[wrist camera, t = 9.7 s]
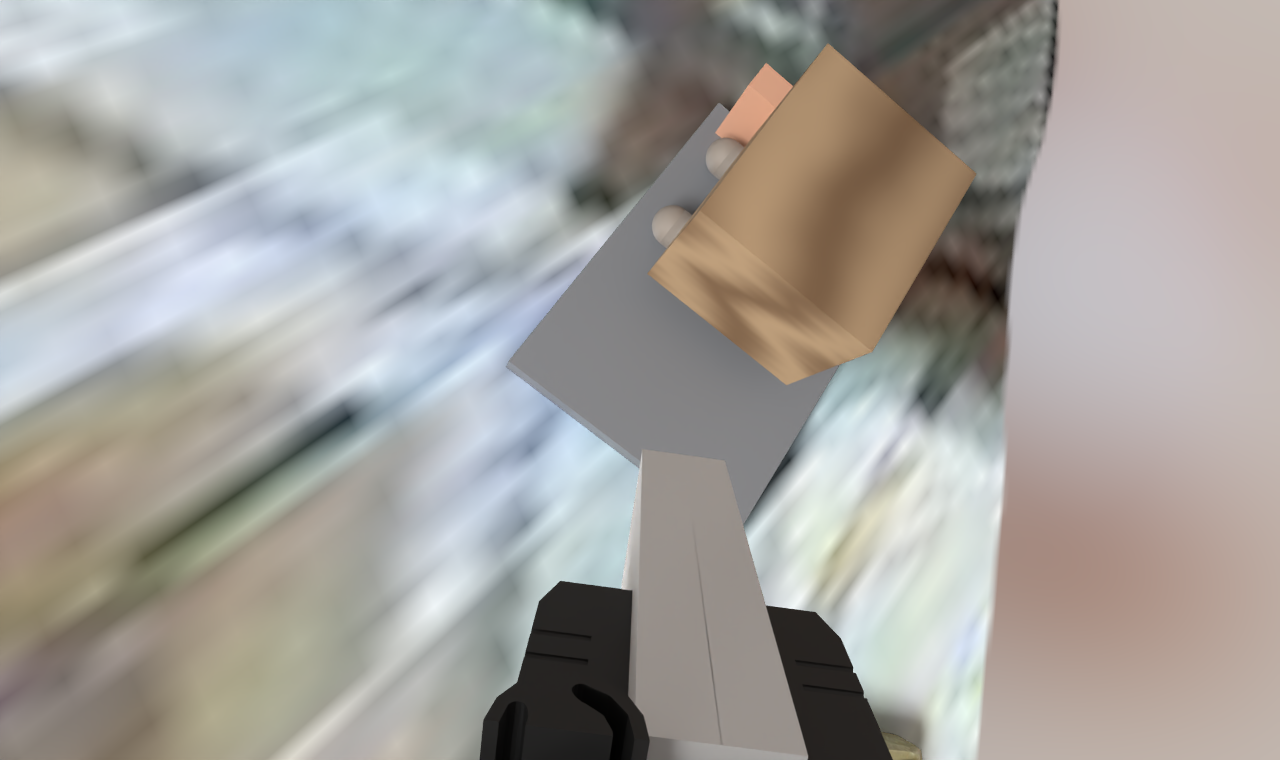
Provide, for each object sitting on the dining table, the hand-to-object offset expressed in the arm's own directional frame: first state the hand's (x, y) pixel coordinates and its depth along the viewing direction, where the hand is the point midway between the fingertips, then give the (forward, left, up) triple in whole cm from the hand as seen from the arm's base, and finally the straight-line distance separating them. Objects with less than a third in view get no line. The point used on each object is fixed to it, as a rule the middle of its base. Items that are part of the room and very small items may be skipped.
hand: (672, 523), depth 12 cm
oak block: (+2, +20, -24) cm, 31 cm away
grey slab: (+2, +17, -25) cm, 31 cm away
